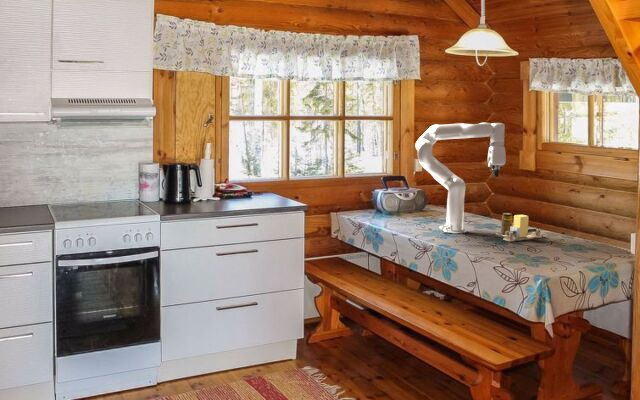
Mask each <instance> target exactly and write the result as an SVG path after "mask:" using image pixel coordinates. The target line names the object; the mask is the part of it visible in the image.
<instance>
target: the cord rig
mask: <svg viewBox="0 0 640 400" xmlns="http://www.w3.org/2000/svg"><path fill="white" fill-rule="evenodd" d="M528 233H531V234H528V236H525V237H520V239H514V238H513V234H515V232H514V231H506V232H505V236H504V238H503V239H502V240H503V241H506V242H515V241H524V240H533V239H539V238H540V237H541V238H543V236H542V235H541V228H539V227H533V228H528Z"/></svg>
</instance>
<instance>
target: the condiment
mask: <svg viewBox="0 0 640 400" xmlns="http://www.w3.org/2000/svg"><path fill="white" fill-rule="evenodd" d="M501 216H502V217H501V222H500V224H501V226H500V232H497V233H496V232H495V233H494V234H495V235H499V236H502V237H505V232H506V231H510V226H513V215H512V213H509V212H504V213H502V215H501Z"/></svg>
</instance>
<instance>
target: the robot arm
mask: <svg viewBox="0 0 640 400" xmlns="http://www.w3.org/2000/svg"><path fill="white" fill-rule="evenodd" d="M505 125H506V124H504V123H502V122H493V123H489V122H485V121H484V122H480V123H474V124H473V123H462V122H461V123H447V124H433V125H431V126H429V128H428V129H427V130H426V131H425V132H424V133H423V134H422V135H421V136H420V137H419V138H418V139H417V141H416V142H415V146H414V147H415V150H416V151H417V159H418V162H419V164H420V165H421V167H422V168H423V169H424V170H426V172H428V173H429V174H430V175H431V177H433V179H434V180H436V181H437V182H438V183H439V184H441V186H443V187H444V188H445V189H446V190H447V191H448V192H447V199H446V223H444V225H439V229H440V230H443V232H444V233H449V234H450V233H451V234H464V233H466V229H465V228H464V214H465V213H464V211H465V196H466V195H465V194H466V189H467V188H466V187H467V186H466V182H465V181H464V179H463V178H461V177H459V176H458V175H456V174H455V173H453V172H452V171H451V170H450V169H449V168H448V167H447V166H446V165H444V164H443V163H442V162H440V160H438V159H437V158H436V157H435V156H434V155H433V146H434V145H435V143H437V141H441V140H454V139H456V140H457V139H470V138H472V139H473V138H486V137H490V142H489V143H488V144H489V147H488V153H487V164H488V165H487V166H488V167H489V168H491V170H492V177H493V178H498V177H499V173H500V170H501V167H504V166H505V165H506V162H507V161H506V160H507V157H506V156H507V155H506V148H505V146H504V145H505V130H506V129H505V128H506V126H505Z"/></svg>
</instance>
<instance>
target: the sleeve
mask: <svg viewBox="0 0 640 400" xmlns="http://www.w3.org/2000/svg"><path fill="white" fill-rule="evenodd" d="M529 220H530V219H529V215H525V214H515V215H514V216H513V223H512V226H515V227H519V228H520V237H525V236H528V235H529V234H528V233H529V232H528V229H529Z"/></svg>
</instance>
